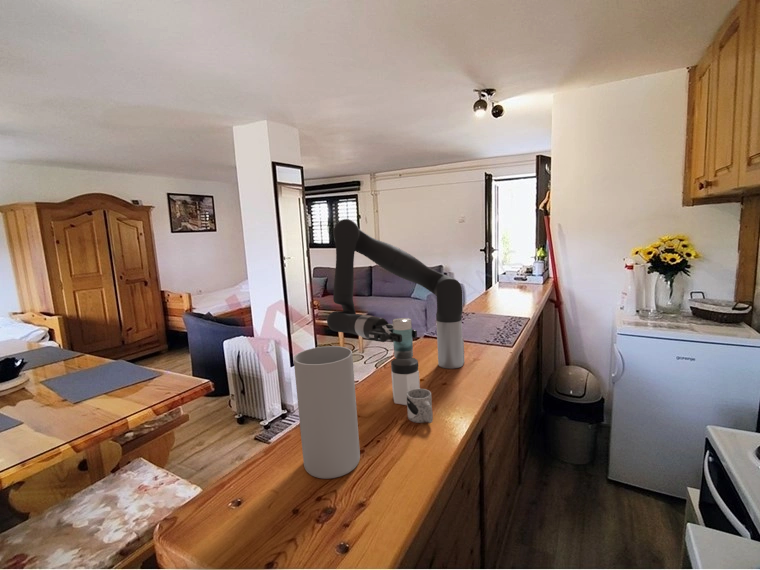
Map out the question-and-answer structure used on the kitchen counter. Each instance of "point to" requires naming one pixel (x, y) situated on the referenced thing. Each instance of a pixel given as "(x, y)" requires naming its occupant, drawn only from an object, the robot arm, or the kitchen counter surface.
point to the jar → (404, 378)
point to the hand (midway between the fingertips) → (408, 336)
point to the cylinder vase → (327, 411)
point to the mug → (419, 406)
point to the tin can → (403, 338)
